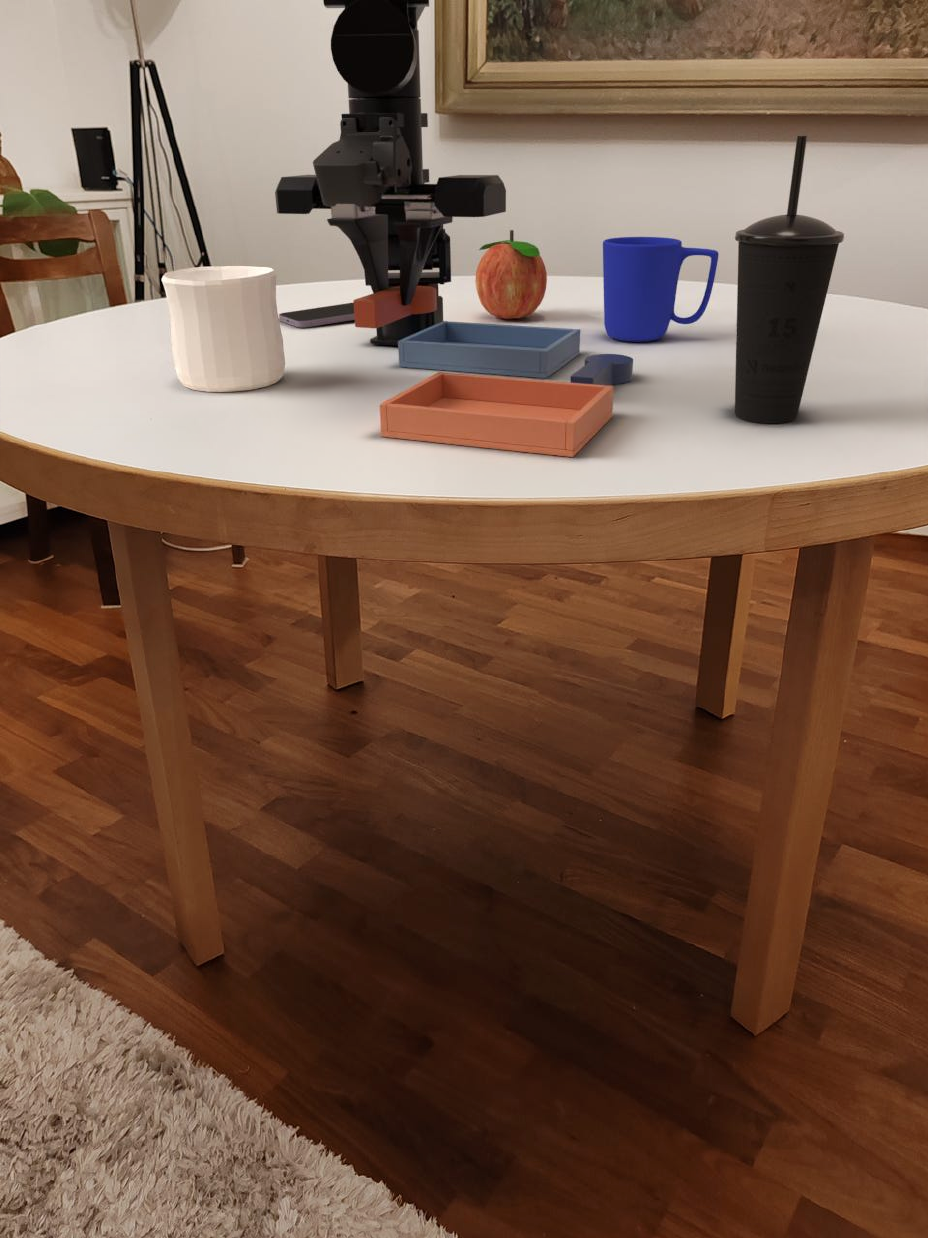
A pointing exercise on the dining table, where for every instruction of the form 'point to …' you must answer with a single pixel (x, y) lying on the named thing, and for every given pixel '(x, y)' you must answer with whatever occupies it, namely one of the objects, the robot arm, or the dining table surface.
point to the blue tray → (490, 349)
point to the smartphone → (319, 315)
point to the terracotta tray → (499, 413)
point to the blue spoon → (604, 370)
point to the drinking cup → (780, 305)
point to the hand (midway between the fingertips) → (394, 304)
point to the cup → (225, 327)
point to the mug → (646, 286)
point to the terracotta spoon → (392, 306)
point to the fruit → (511, 278)
